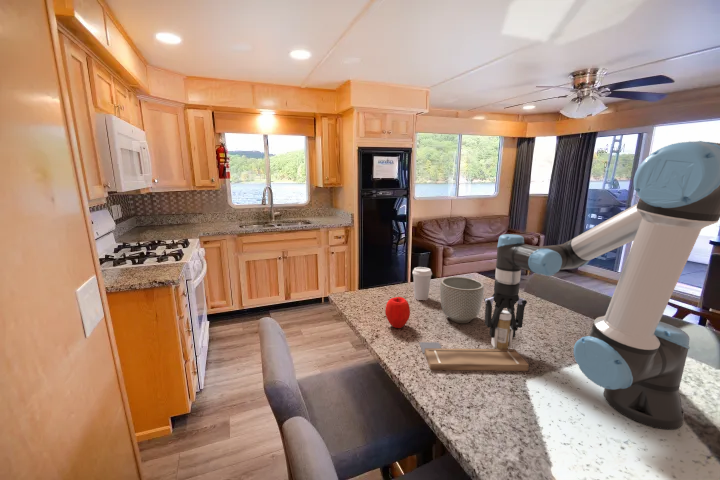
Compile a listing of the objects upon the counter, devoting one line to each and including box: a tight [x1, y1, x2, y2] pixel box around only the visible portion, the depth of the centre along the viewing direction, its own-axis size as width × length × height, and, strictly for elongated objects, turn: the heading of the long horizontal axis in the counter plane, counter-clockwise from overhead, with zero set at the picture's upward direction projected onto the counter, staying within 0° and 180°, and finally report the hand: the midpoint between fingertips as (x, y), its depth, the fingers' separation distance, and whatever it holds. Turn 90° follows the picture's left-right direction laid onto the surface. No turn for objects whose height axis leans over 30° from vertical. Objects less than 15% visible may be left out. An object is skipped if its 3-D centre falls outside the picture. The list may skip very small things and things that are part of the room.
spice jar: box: [494, 309, 511, 349], centre depth 105 cm, size 5×5×13 cm
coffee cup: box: [412, 266, 433, 301], centre depth 151 cm, size 10×10×15 cm
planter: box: [439, 276, 485, 324], centre depth 128 cm, size 17×17×16 cm
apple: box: [384, 296, 411, 329], centre depth 122 cm, size 10×10×12 cm
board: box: [424, 347, 530, 372], centre depth 99 cm, size 9×30×2 cm, turn 89°
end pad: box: [418, 341, 442, 355], centre depth 107 cm, size 7×7×1 cm
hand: (501, 345), depth 106 cm, fingers closed on spice jar, 4 cm apart
